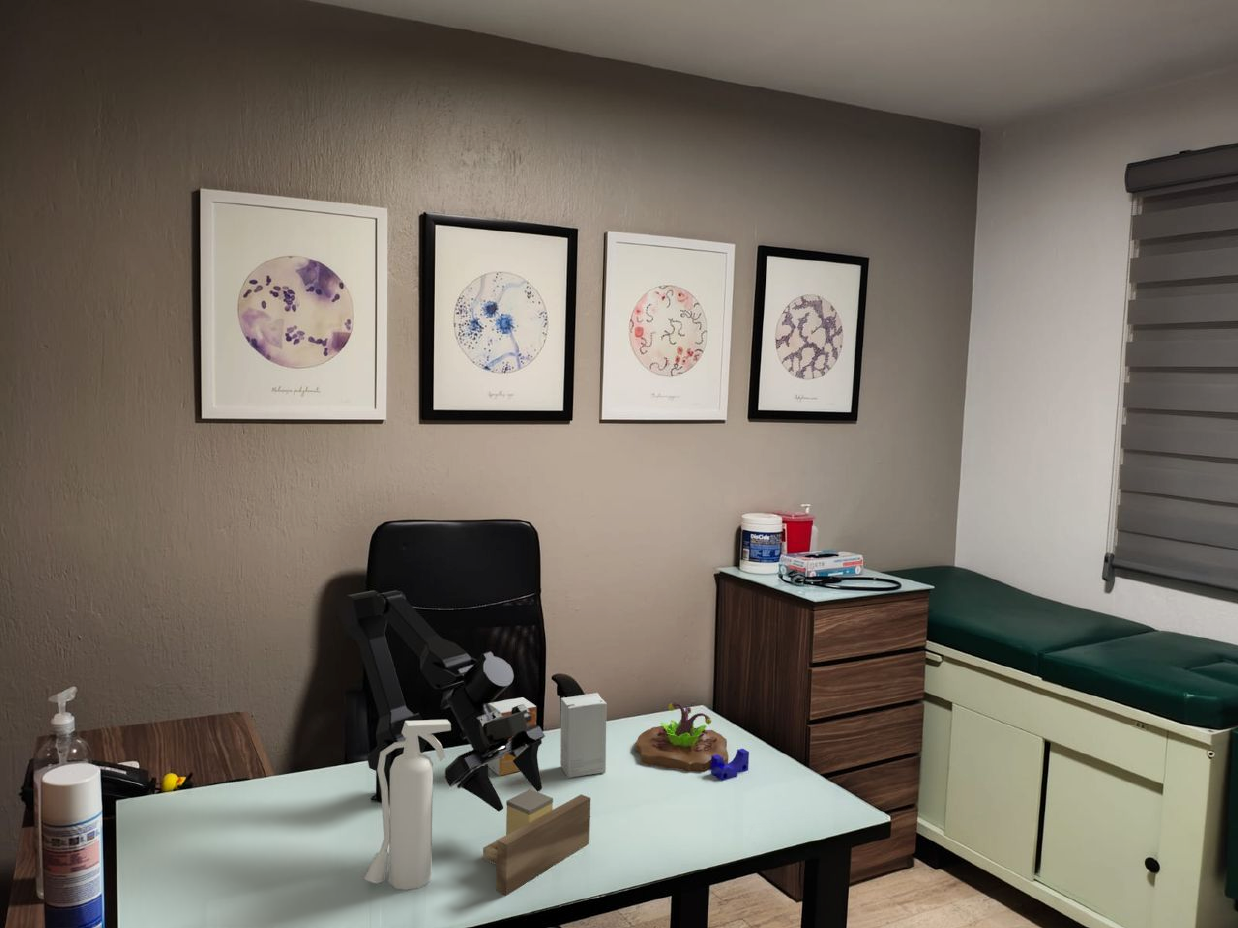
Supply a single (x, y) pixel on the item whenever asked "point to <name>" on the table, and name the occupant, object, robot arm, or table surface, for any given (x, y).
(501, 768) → the small box
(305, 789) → the table surface
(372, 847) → the table surface
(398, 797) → the fire extinguisher
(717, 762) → the cable holder
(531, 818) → the grey-topped square block
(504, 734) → the robot arm
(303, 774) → the table surface
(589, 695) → the skincare box
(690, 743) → the plant
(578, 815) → the wall board
